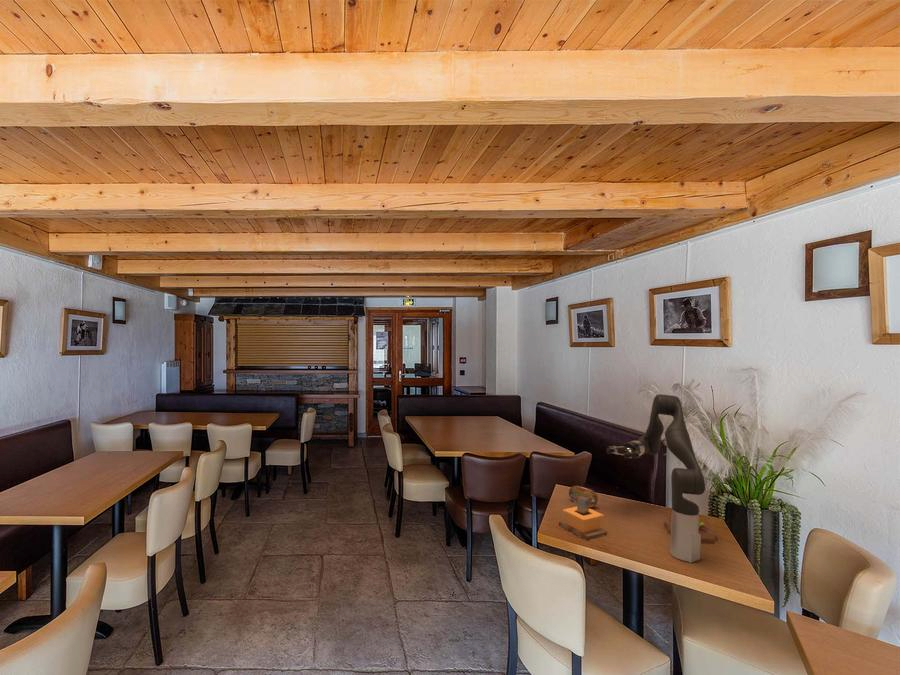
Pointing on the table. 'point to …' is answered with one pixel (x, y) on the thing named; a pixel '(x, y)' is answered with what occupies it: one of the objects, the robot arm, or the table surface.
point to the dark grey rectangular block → (583, 506)
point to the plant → (706, 532)
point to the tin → (581, 491)
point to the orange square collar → (583, 519)
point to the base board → (587, 534)
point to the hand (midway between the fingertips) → (615, 453)
